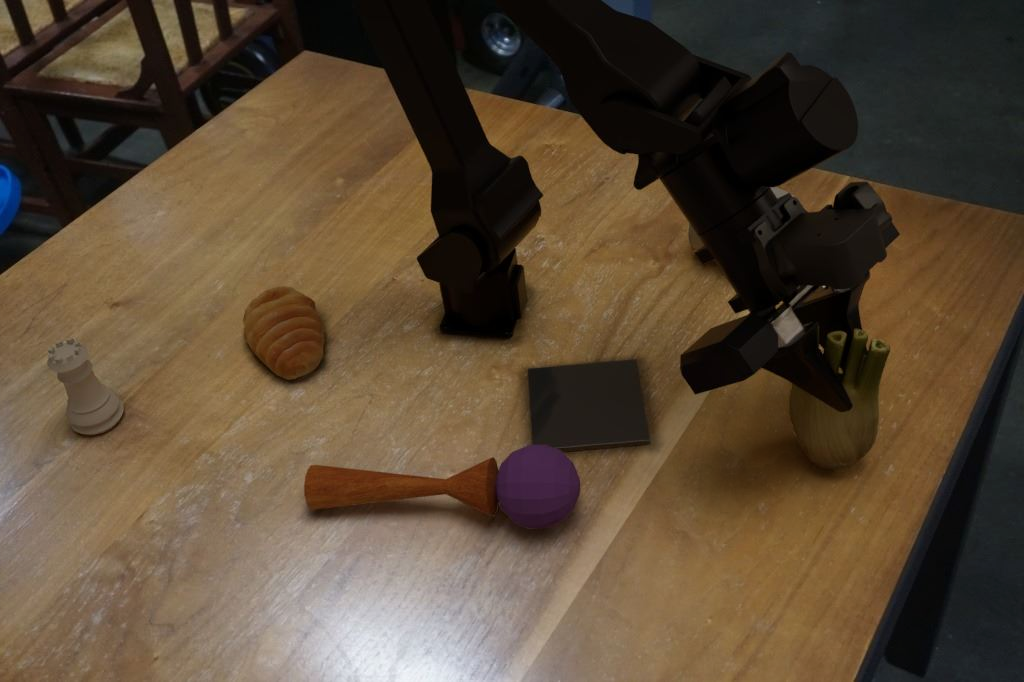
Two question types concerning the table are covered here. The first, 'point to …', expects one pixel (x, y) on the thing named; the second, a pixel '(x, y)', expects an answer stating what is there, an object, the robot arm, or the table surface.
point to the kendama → (464, 486)
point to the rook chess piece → (84, 389)
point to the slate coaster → (588, 406)
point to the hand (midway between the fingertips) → (858, 398)
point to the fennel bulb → (828, 430)
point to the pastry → (285, 331)
